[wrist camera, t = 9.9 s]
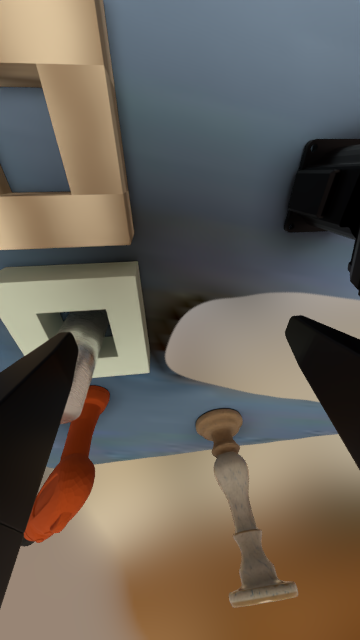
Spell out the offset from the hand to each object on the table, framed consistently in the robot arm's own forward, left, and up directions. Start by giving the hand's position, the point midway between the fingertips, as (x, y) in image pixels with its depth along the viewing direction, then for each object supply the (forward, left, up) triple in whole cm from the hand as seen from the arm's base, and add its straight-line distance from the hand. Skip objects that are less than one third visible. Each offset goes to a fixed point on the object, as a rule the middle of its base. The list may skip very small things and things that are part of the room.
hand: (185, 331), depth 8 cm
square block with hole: (+9, +7, -13) cm, 18 cm away
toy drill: (+16, +26, -13) cm, 33 cm away
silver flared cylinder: (+9, +7, -13) cm, 17 cm away
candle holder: (-8, +33, -13) cm, 36 cm away
